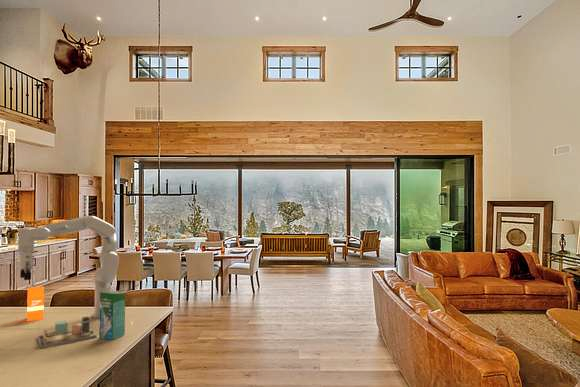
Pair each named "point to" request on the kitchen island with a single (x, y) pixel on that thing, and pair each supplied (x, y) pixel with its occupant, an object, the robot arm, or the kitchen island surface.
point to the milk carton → (112, 315)
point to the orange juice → (35, 303)
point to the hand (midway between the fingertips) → (25, 278)
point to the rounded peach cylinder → (76, 329)
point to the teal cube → (61, 327)
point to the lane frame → (62, 341)
